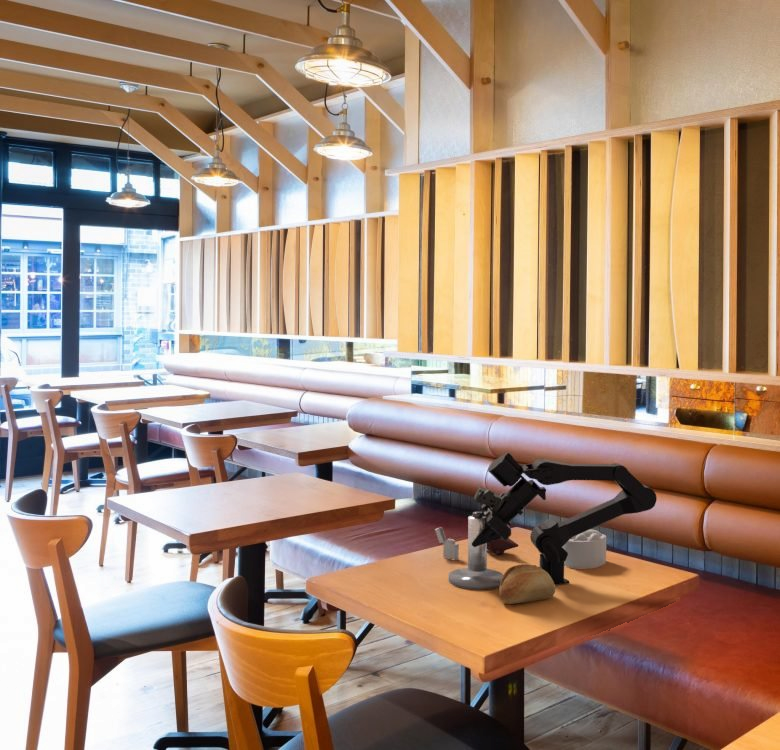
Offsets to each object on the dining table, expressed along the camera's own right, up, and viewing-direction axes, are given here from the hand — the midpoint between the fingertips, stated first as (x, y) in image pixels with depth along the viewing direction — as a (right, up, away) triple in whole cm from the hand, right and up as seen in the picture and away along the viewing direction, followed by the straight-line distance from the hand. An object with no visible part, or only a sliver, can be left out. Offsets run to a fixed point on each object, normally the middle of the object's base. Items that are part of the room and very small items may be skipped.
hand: (471, 543), depth 202 cm
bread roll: (+11, -11, -14) cm, 21 cm away
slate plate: (+1, -9, 0) cm, 10 cm away
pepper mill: (+1, -6, 0) cm, 7 cm away
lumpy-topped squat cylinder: (+31, -9, +17) cm, 37 cm away
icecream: (+10, -8, +25) cm, 28 cm away
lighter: (-5, -8, +21) cm, 23 cm away
